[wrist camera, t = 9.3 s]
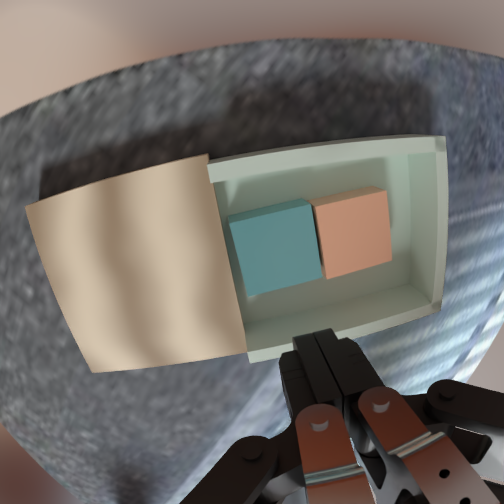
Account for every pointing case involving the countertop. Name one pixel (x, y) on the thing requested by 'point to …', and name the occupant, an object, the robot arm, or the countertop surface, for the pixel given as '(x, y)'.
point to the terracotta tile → (352, 230)
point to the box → (359, 282)
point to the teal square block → (276, 246)
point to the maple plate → (142, 267)
